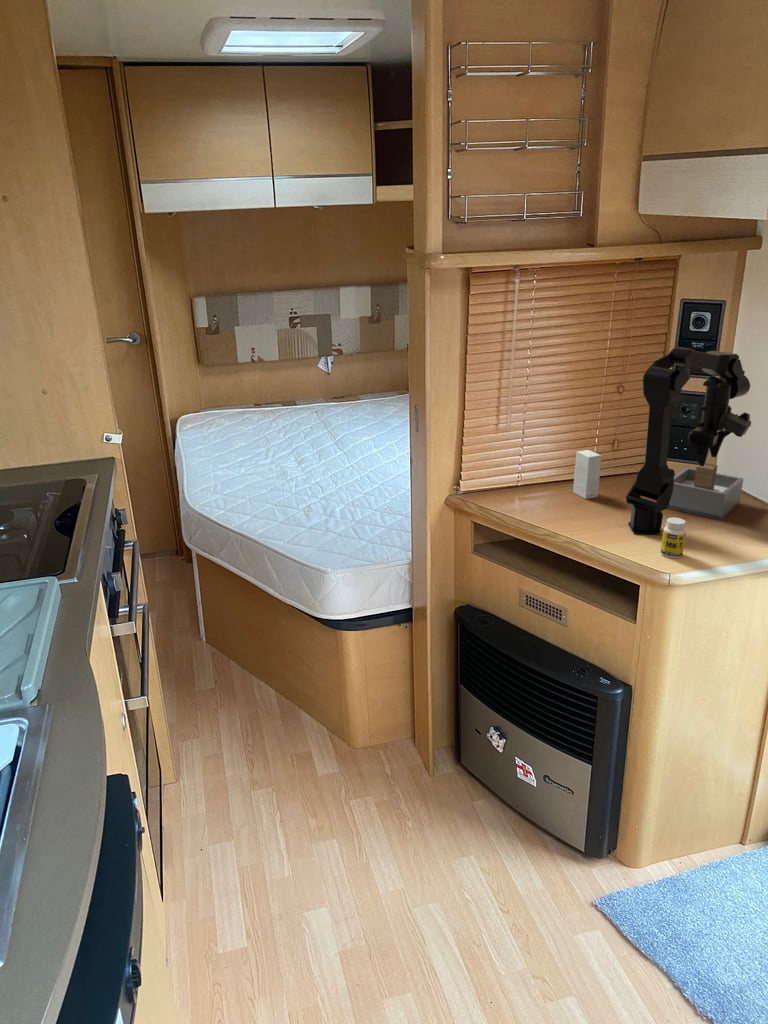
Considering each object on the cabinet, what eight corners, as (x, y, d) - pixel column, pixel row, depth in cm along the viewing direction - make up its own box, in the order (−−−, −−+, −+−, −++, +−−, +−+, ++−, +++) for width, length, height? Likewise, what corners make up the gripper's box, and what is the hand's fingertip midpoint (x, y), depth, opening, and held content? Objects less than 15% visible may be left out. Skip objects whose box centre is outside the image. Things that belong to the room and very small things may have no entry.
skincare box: (598, 497, 212) (602, 455, 207) (585, 499, 210) (588, 457, 206) (585, 490, 217) (588, 449, 213) (572, 492, 216) (575, 451, 211)
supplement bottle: (662, 558, 176) (666, 524, 173) (658, 549, 180) (663, 516, 177) (684, 559, 175) (689, 525, 172) (680, 550, 179) (685, 517, 176)
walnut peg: (707, 505, 202) (712, 469, 199) (691, 502, 205) (696, 466, 201) (712, 501, 205) (717, 465, 202) (696, 497, 208) (701, 462, 204)
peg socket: (720, 520, 196) (725, 494, 193) (662, 507, 205) (665, 481, 202) (739, 503, 206) (743, 478, 204) (682, 491, 215) (686, 467, 213)
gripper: (738, 415, 184) (728, 477, 190) (761, 399, 197) (751, 458, 203) (691, 408, 190) (682, 468, 196) (716, 393, 204) (707, 450, 210)
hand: (707, 461), depth 201 cm, fingers open, 9 cm apart
